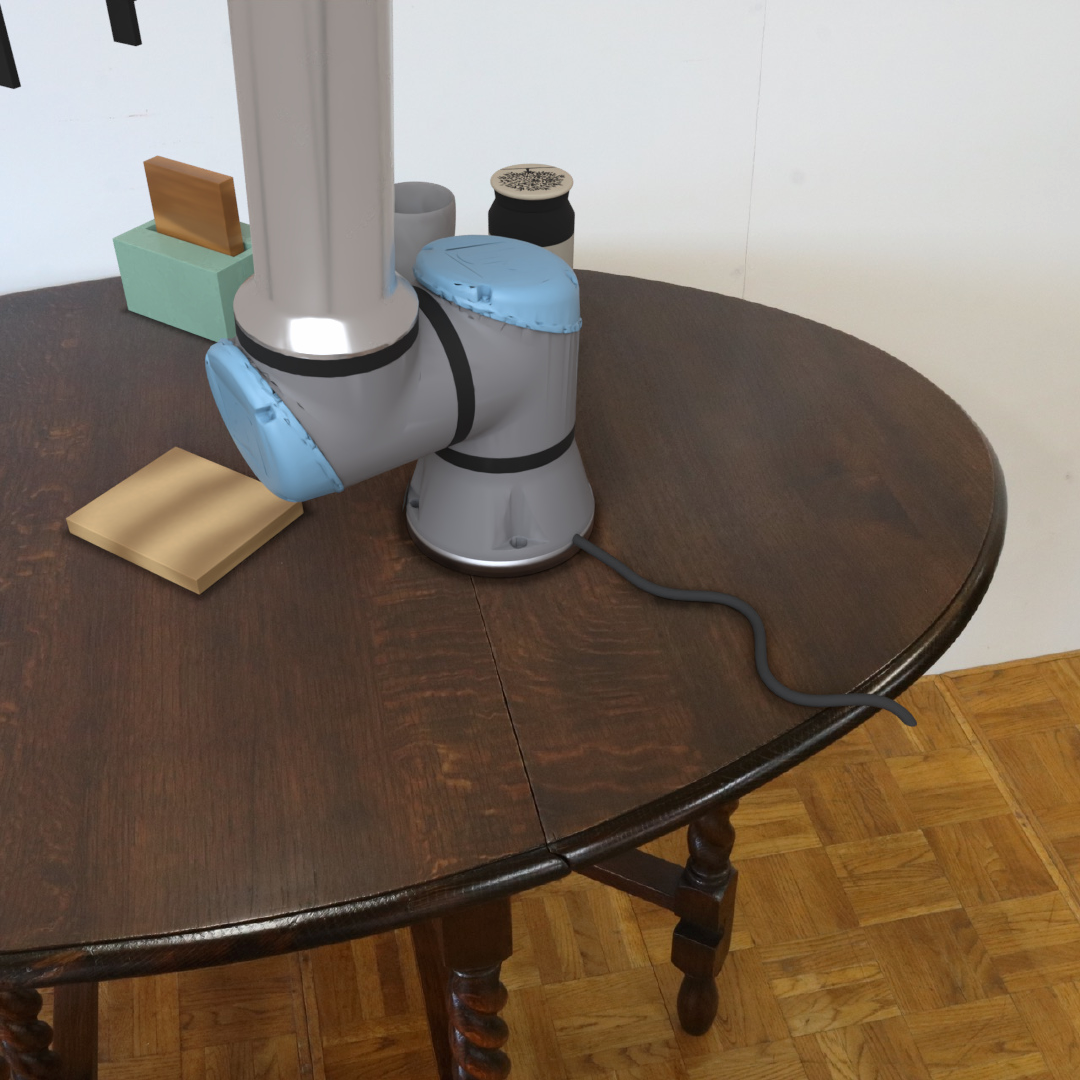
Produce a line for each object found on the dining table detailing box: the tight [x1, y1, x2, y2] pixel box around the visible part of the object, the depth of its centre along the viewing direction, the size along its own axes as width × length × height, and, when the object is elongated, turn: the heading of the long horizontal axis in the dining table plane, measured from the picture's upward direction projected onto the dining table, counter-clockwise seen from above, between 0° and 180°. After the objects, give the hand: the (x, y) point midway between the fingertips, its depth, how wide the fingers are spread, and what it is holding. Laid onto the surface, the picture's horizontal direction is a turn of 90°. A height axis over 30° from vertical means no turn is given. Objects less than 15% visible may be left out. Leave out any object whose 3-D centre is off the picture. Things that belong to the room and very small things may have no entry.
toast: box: [142, 155, 244, 257], centre depth 119 cm, size 2×10×12 cm, turn 59°
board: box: [65, 446, 304, 596], centre depth 95 cm, size 14×12×2 cm
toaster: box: [112, 218, 254, 343], centre depth 122 cm, size 10×16×8 cm, turn 59°
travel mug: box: [487, 163, 576, 271], centre depth 112 cm, size 8×8×18 cm
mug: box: [394, 181, 457, 283], centre depth 127 cm, size 12×9×10 cm
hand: (69, 63), depth 101 cm, fingers open, 13 cm apart
